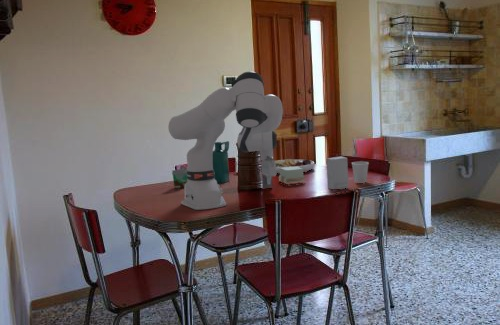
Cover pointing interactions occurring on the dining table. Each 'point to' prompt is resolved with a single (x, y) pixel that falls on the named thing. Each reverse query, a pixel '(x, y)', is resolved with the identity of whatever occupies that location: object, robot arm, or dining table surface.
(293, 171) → the tower top
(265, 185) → the grey block
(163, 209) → the dining table surface
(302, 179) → the tower base
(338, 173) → the skincare box
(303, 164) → the bowl
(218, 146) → the teal gas canister
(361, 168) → the dixie cup
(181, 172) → the food container
